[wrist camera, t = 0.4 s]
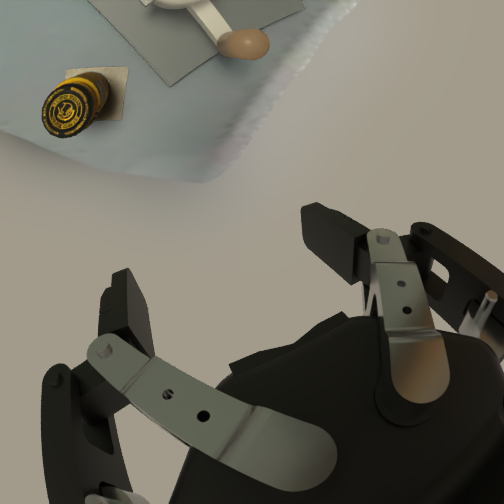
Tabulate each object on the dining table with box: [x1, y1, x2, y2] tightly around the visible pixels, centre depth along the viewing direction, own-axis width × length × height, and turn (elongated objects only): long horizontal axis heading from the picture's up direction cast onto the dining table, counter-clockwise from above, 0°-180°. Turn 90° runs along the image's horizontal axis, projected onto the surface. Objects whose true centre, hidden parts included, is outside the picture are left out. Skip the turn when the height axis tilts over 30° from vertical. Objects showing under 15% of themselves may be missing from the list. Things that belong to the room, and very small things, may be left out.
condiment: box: [42, 67, 129, 138], centre depth 21 cm, size 7×8×12 cm
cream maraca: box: [139, 0, 270, 60], centre depth 16 cm, size 15×9×8 cm, turn 31°
